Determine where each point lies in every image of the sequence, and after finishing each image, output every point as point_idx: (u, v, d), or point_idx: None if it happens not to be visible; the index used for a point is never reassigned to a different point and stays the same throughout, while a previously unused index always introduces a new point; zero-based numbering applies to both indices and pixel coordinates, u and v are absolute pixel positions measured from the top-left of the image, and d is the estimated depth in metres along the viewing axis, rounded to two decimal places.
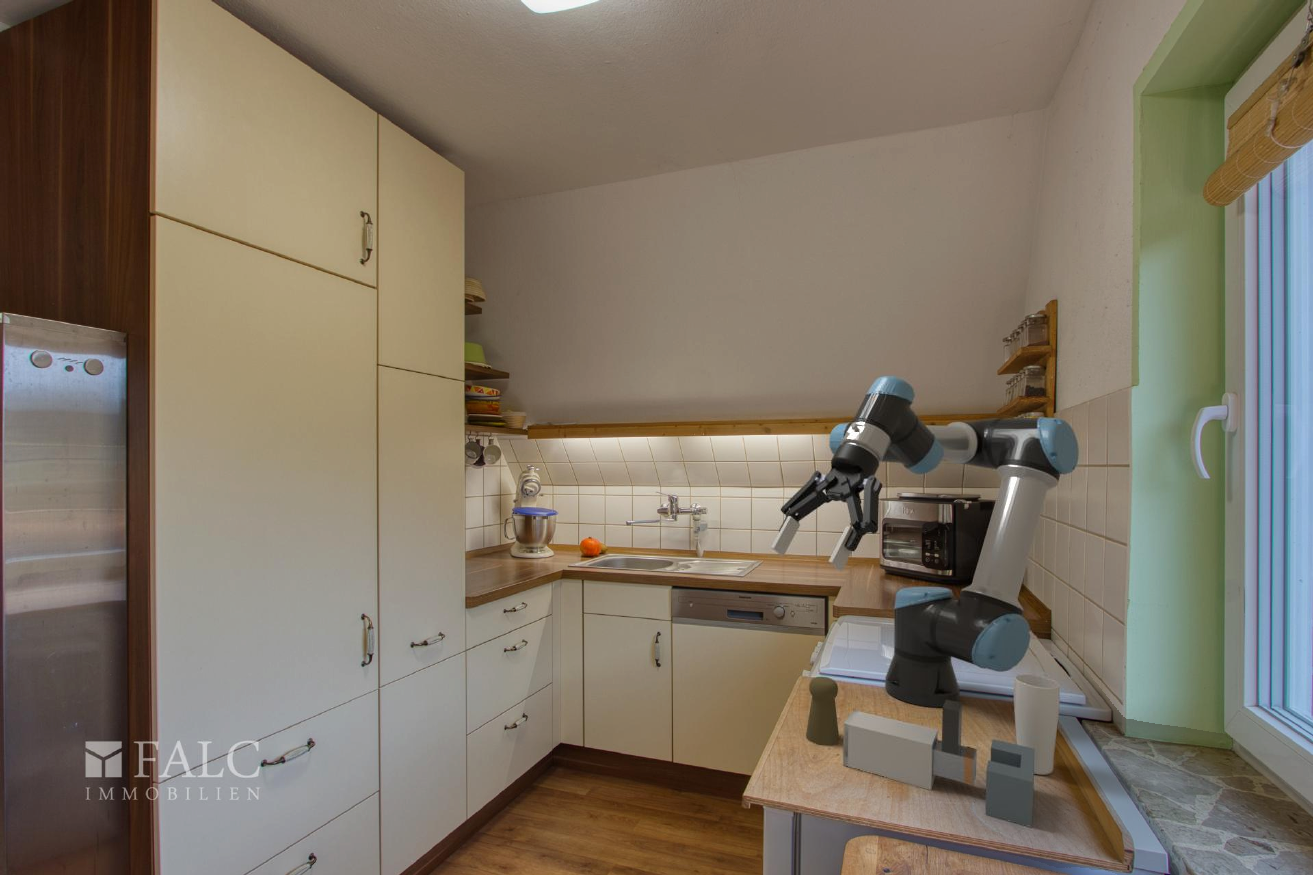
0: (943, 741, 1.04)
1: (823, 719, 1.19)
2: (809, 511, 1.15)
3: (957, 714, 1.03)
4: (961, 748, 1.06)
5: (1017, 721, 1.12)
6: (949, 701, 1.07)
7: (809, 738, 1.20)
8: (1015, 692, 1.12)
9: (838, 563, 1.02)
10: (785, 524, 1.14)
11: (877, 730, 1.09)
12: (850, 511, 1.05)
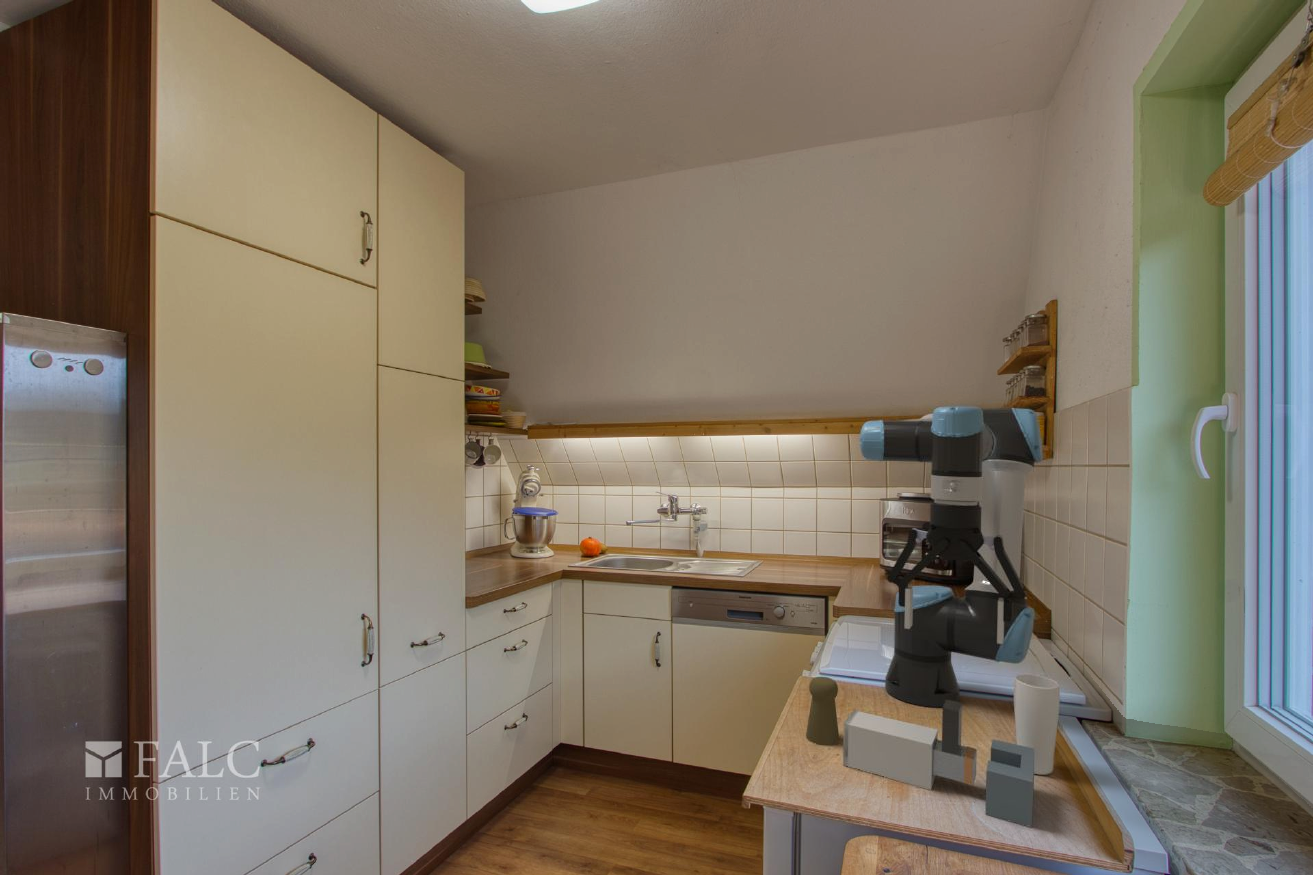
0: (943, 741, 1.04)
1: (823, 719, 1.19)
2: None
3: (957, 714, 1.03)
4: (961, 748, 1.06)
5: (1017, 721, 1.12)
6: (949, 701, 1.07)
7: (809, 738, 1.20)
8: (1015, 692, 1.12)
9: None
10: (907, 599, 1.08)
11: (877, 730, 1.09)
12: (992, 582, 1.02)
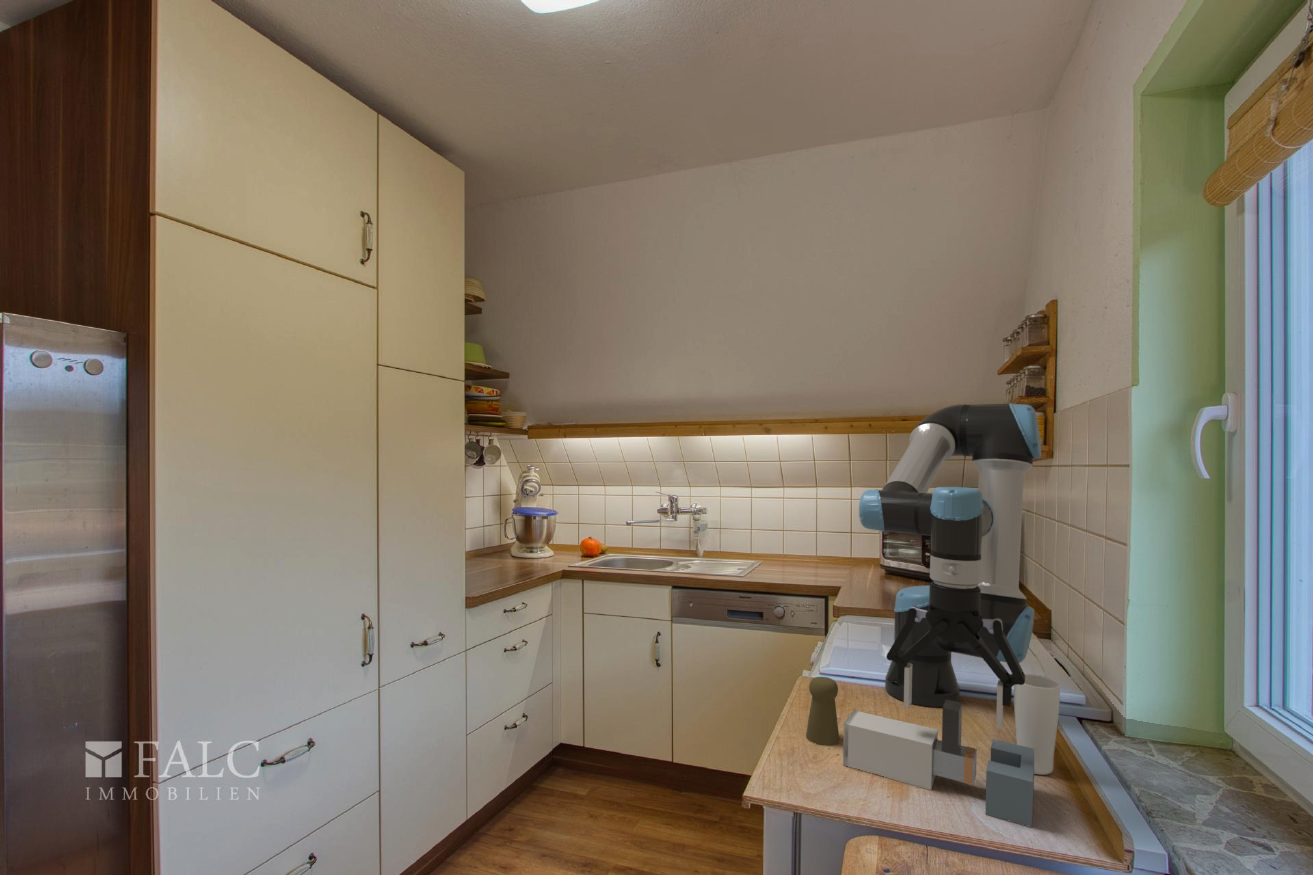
0: (943, 741, 1.04)
1: (823, 719, 1.19)
2: None
3: (957, 714, 1.03)
4: (961, 748, 1.06)
5: (1017, 721, 1.12)
6: (949, 701, 1.07)
7: (809, 738, 1.20)
8: (1015, 692, 1.12)
9: (1002, 722, 1.02)
10: (906, 678, 1.08)
11: (877, 730, 1.09)
12: (991, 666, 1.02)
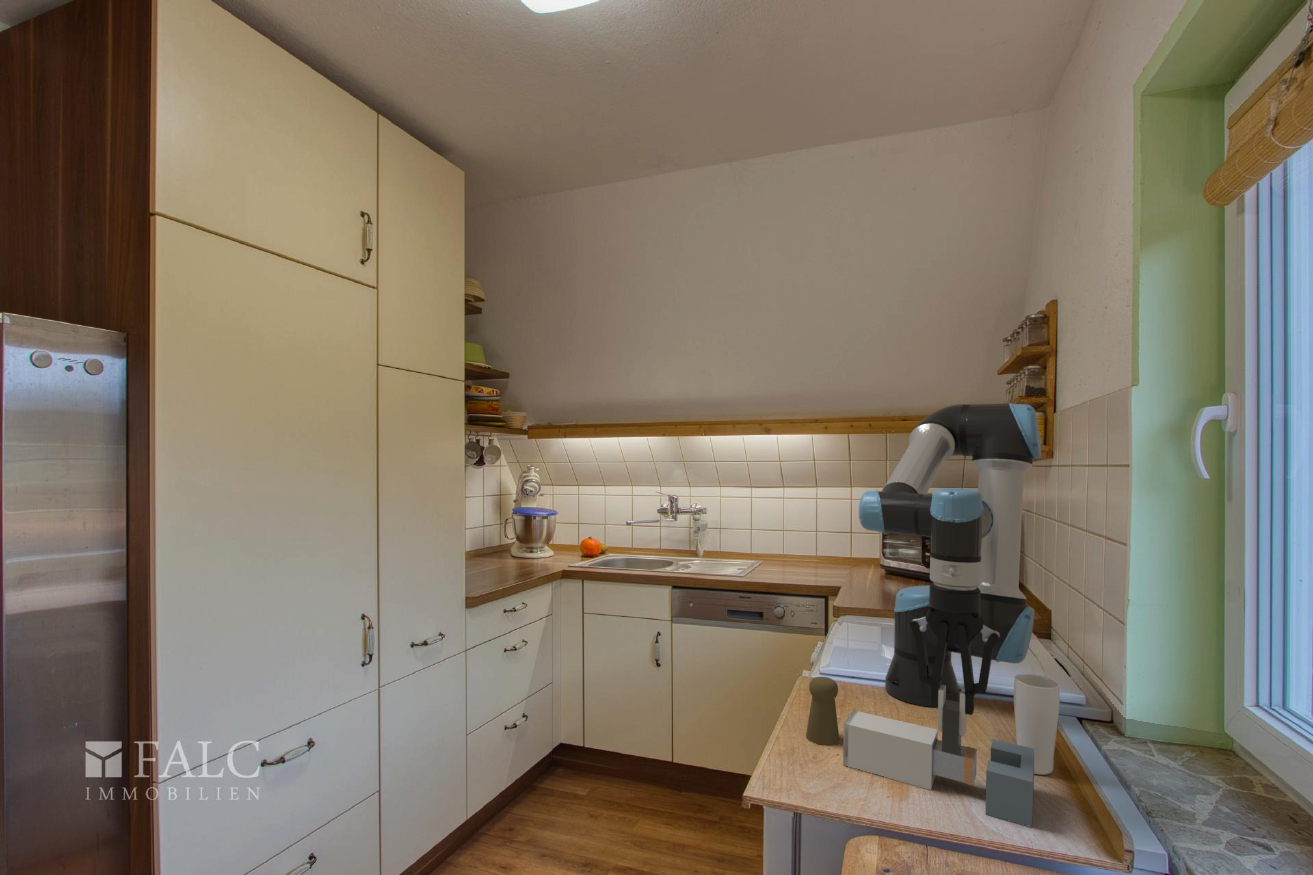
0: (943, 741, 1.04)
1: (823, 719, 1.19)
2: (943, 664, 1.07)
3: (957, 714, 1.03)
4: (961, 748, 1.06)
5: (1017, 721, 1.12)
6: (949, 701, 1.07)
7: (809, 738, 1.20)
8: (1015, 692, 1.12)
9: (965, 729, 1.05)
10: (940, 701, 1.05)
11: (877, 730, 1.09)
12: (964, 672, 1.04)
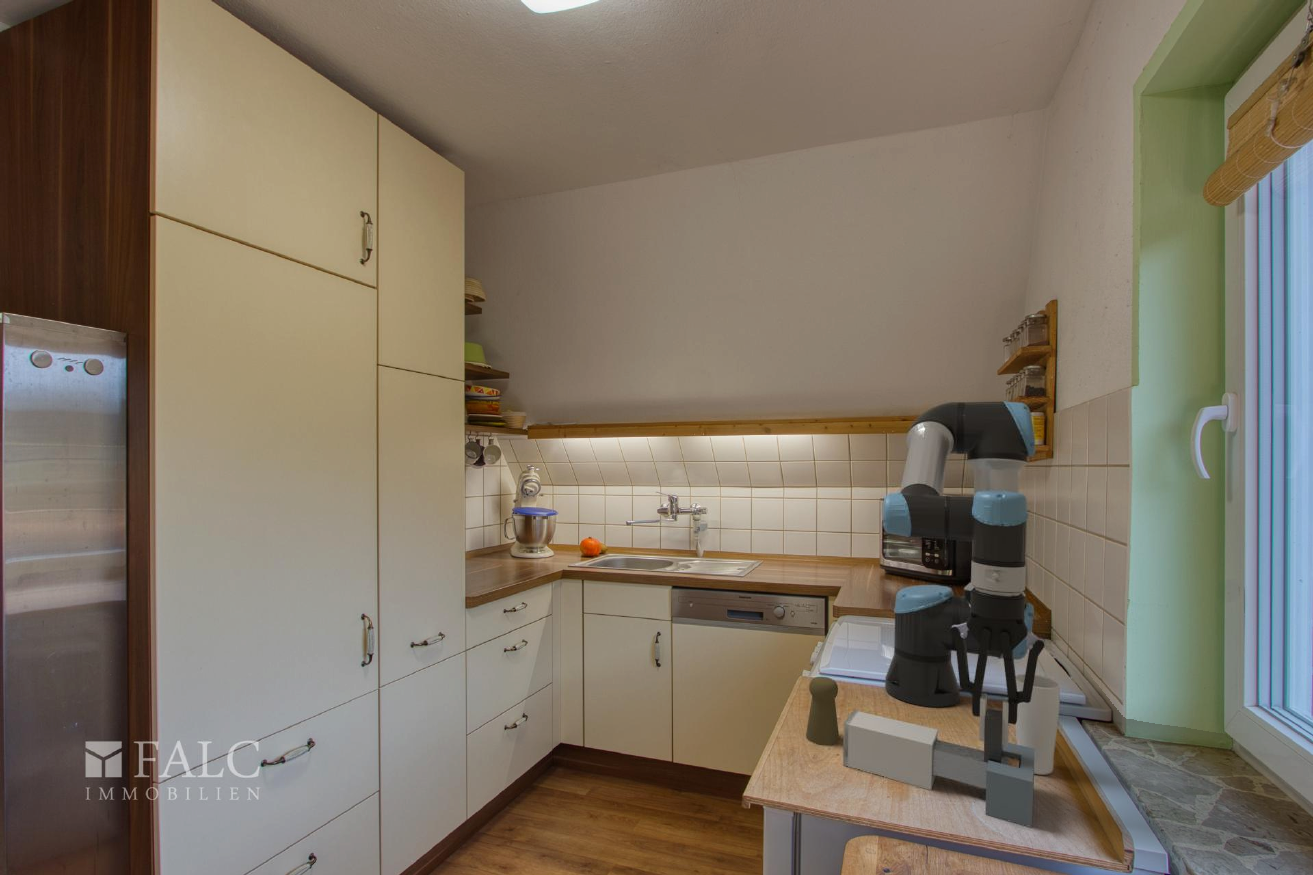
0: (985, 751, 1.01)
1: (823, 719, 1.19)
2: None
3: (1000, 723, 1.00)
4: (1003, 758, 1.03)
5: (1017, 721, 1.12)
6: (990, 710, 1.04)
7: (809, 738, 1.20)
8: None
9: None
10: (982, 709, 1.02)
11: (877, 730, 1.09)
12: (1008, 680, 1.00)
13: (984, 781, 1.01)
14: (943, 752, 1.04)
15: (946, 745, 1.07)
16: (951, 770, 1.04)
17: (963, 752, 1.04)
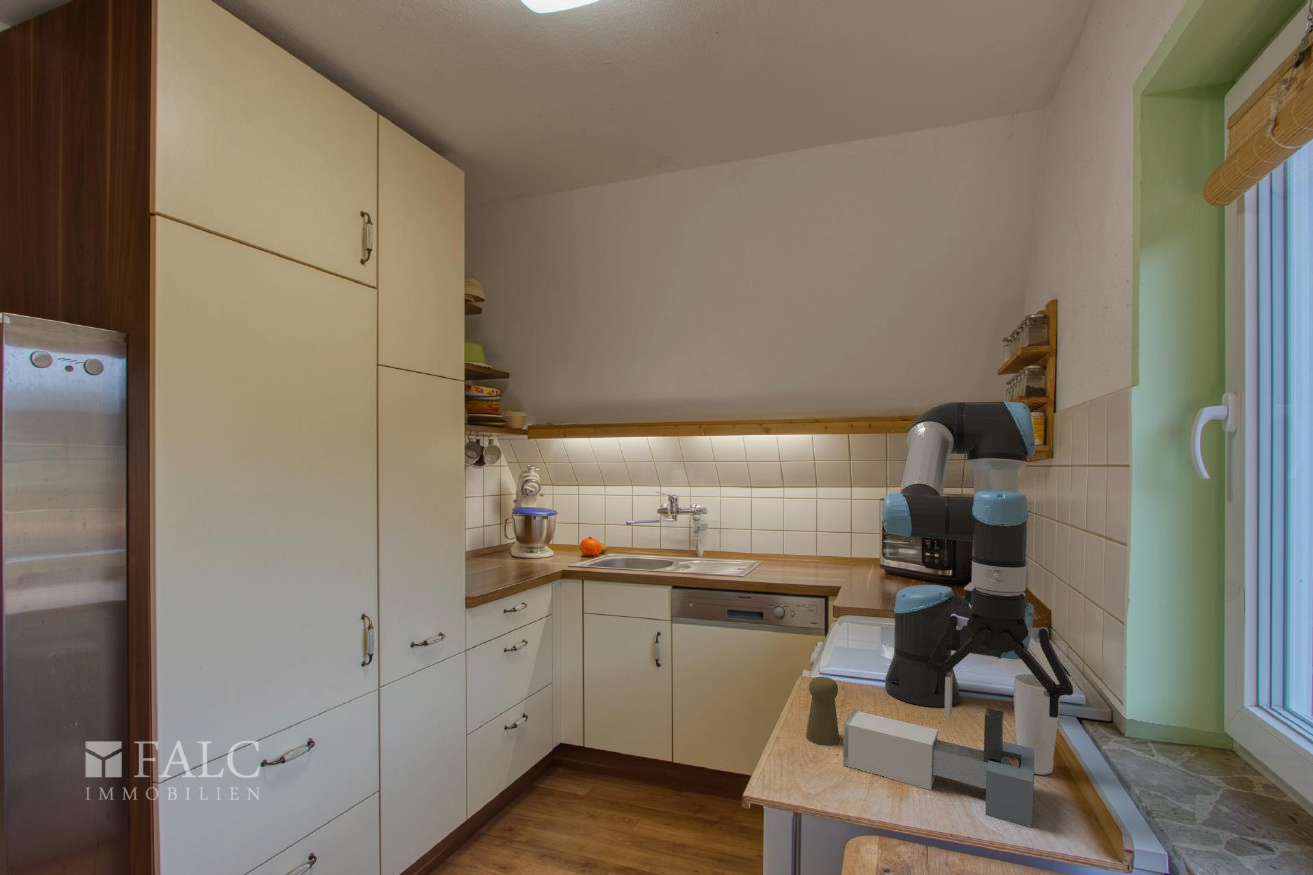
0: (985, 751, 1.01)
1: (823, 719, 1.19)
2: None
3: (1000, 723, 1.00)
4: (1003, 758, 1.03)
5: (1017, 721, 1.12)
6: (990, 710, 1.04)
7: (809, 738, 1.20)
8: (1015, 692, 1.12)
9: None
10: (947, 688, 1.05)
11: (877, 730, 1.09)
12: (1037, 676, 0.98)
13: (984, 781, 1.01)
14: (943, 752, 1.04)
15: (946, 745, 1.07)
16: (951, 770, 1.04)
17: (963, 752, 1.04)
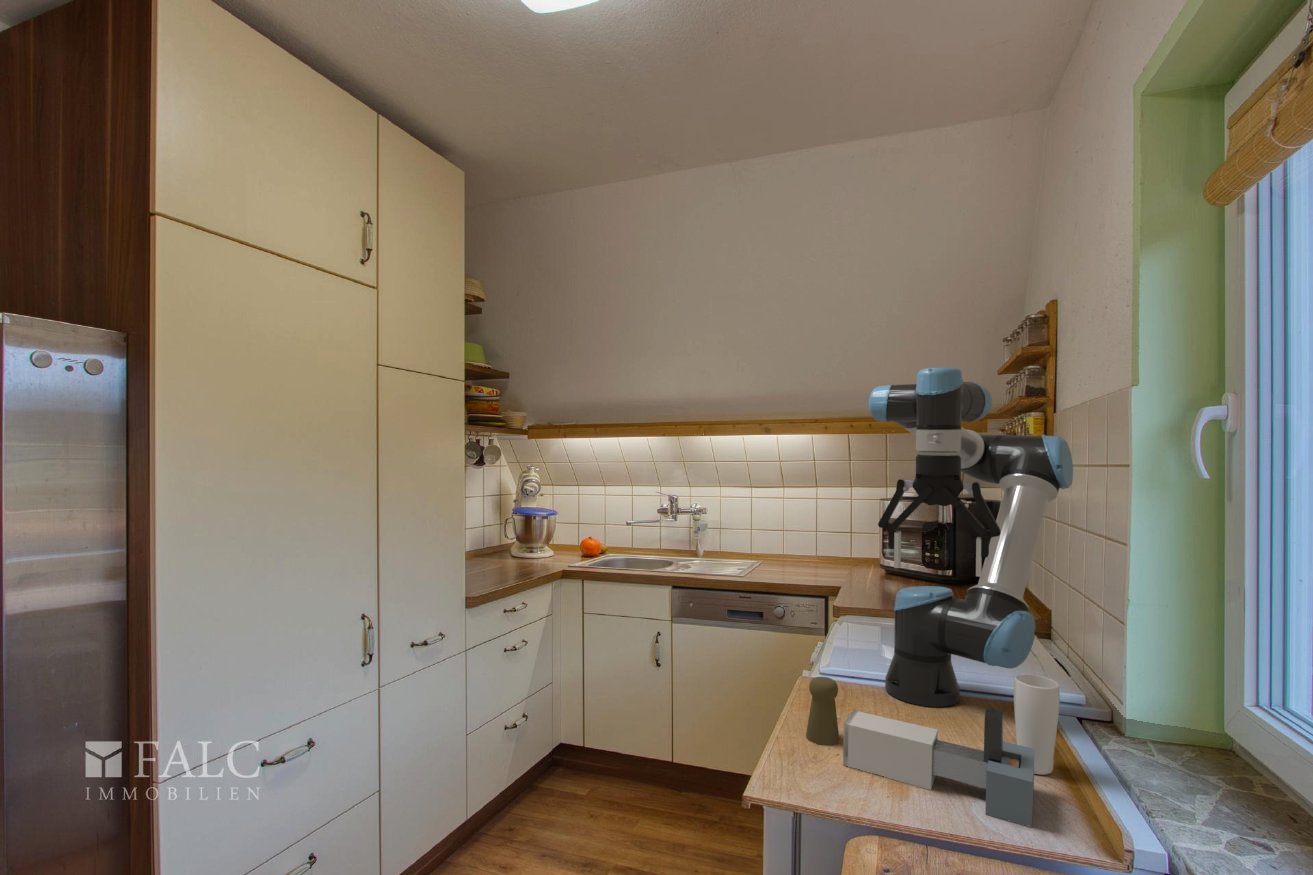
0: (985, 751, 1.01)
1: (823, 719, 1.19)
2: (906, 518, 1.22)
3: (1000, 723, 1.00)
4: (1003, 758, 1.03)
5: (1017, 721, 1.12)
6: (990, 710, 1.04)
7: (809, 738, 1.20)
8: (1015, 692, 1.12)
9: None
10: (896, 542, 1.21)
11: (877, 730, 1.09)
12: (971, 523, 1.15)
13: (984, 781, 1.01)
14: (943, 752, 1.04)
15: (946, 745, 1.07)
16: (951, 770, 1.04)
17: (963, 752, 1.04)
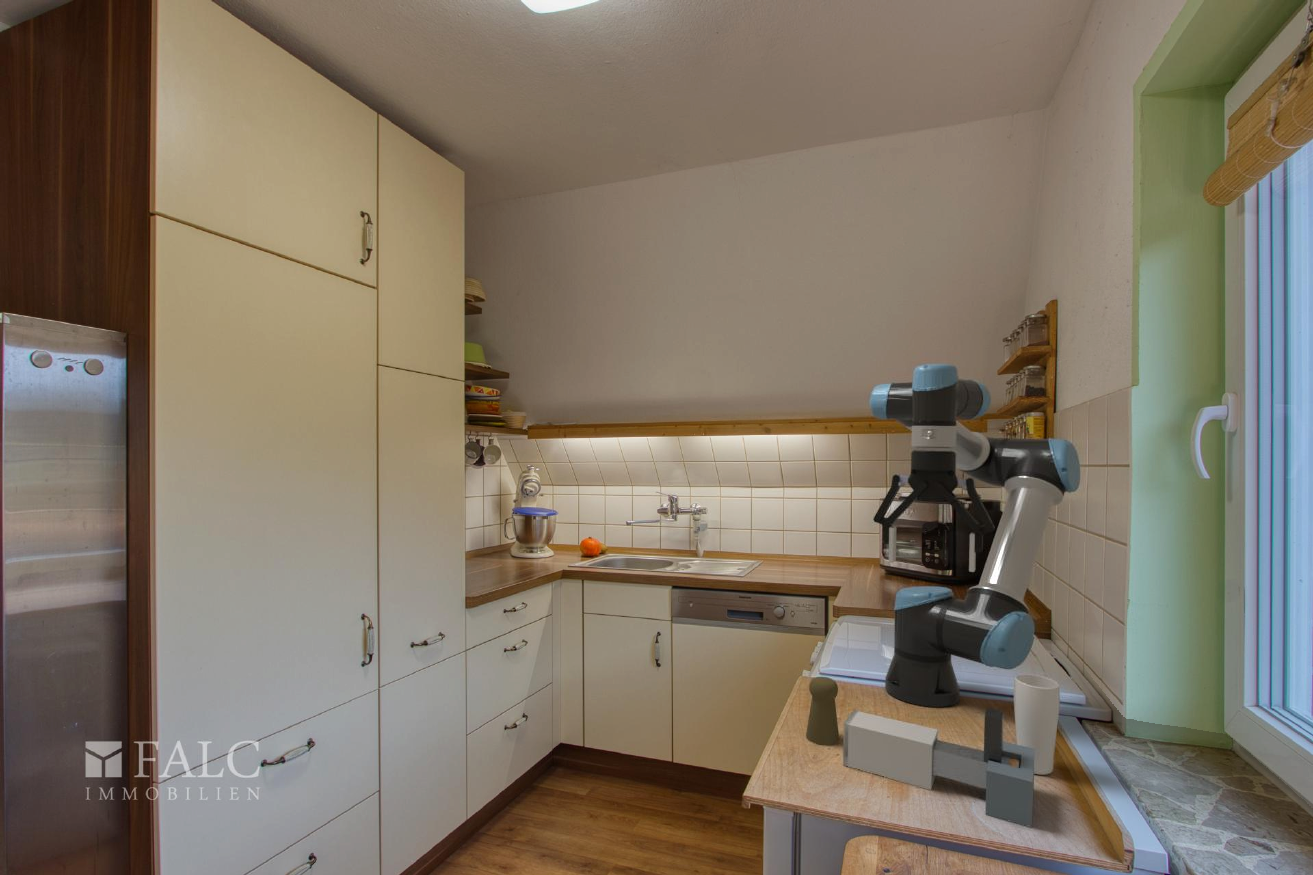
0: (985, 751, 1.01)
1: (823, 719, 1.19)
2: None
3: (1000, 723, 1.00)
4: (1003, 758, 1.03)
5: (1017, 721, 1.12)
6: (990, 710, 1.04)
7: (809, 738, 1.20)
8: (1015, 692, 1.12)
9: (974, 567, 1.16)
10: (891, 536, 1.22)
11: (877, 730, 1.09)
12: (964, 518, 1.15)
13: (984, 781, 1.01)
14: (943, 752, 1.04)
15: (946, 745, 1.07)
16: (951, 770, 1.04)
17: (963, 752, 1.04)
